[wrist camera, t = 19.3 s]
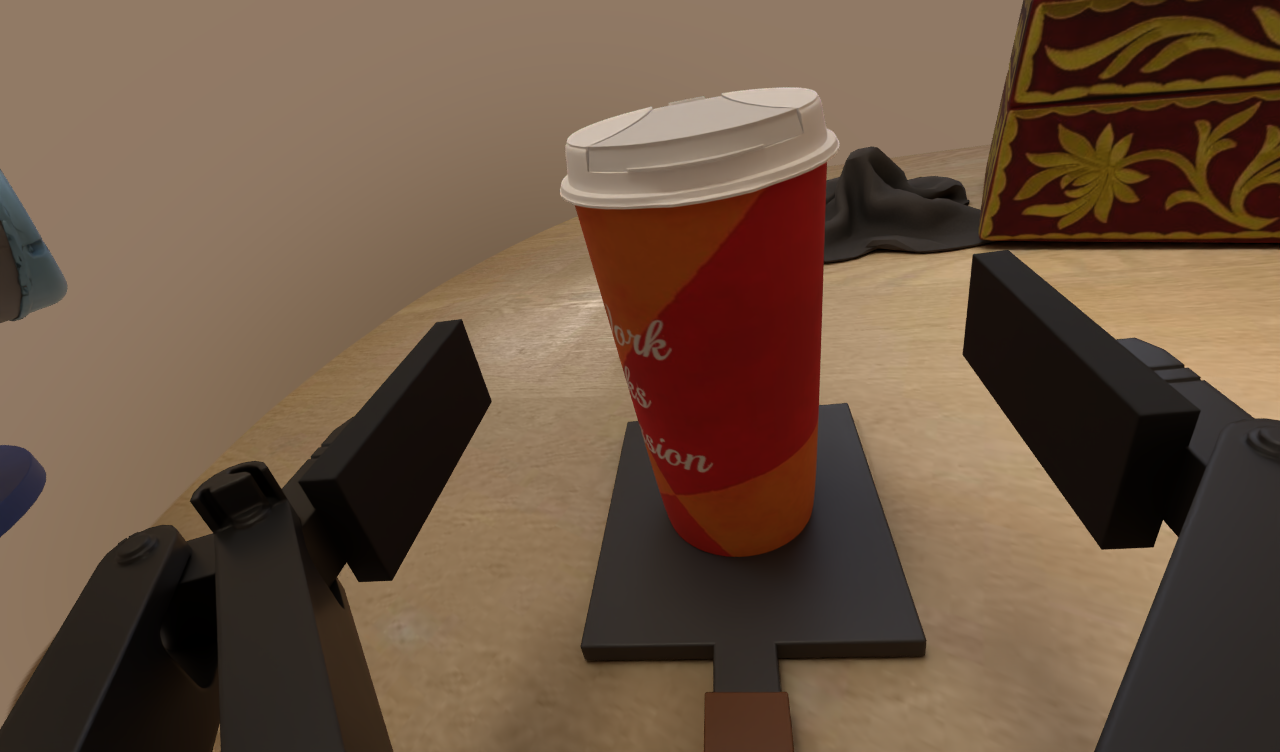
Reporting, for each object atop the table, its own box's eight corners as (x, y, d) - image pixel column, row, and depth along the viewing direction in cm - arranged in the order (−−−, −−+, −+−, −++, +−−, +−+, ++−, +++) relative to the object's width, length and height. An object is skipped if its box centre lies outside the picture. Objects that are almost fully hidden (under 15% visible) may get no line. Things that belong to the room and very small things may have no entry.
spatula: (442, 1381, 10) (415, 1380, 9) (630, 433, 32) (625, 414, 31) (1214, 1553, 8) (1243, 1566, 7) (847, 415, 30) (847, 395, 29)
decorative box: (976, 242, 43) (1008, -2, 35) (985, 170, 57) (1009, -18, 49) (1600, 248, 30) (1859, -133, 23) (1419, 153, 44) (1543, -105, 36)
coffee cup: (644, 450, 29) (570, 118, 21) (820, 430, 28) (807, 72, 20) (634, 595, 22) (517, 171, 14) (870, 576, 21) (879, 106, 13)
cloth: (722, 266, 49) (713, 191, 46) (772, 197, 63) (768, 136, 60) (1046, 261, 40) (1062, 166, 37) (1021, 181, 54) (1031, 107, 51)
